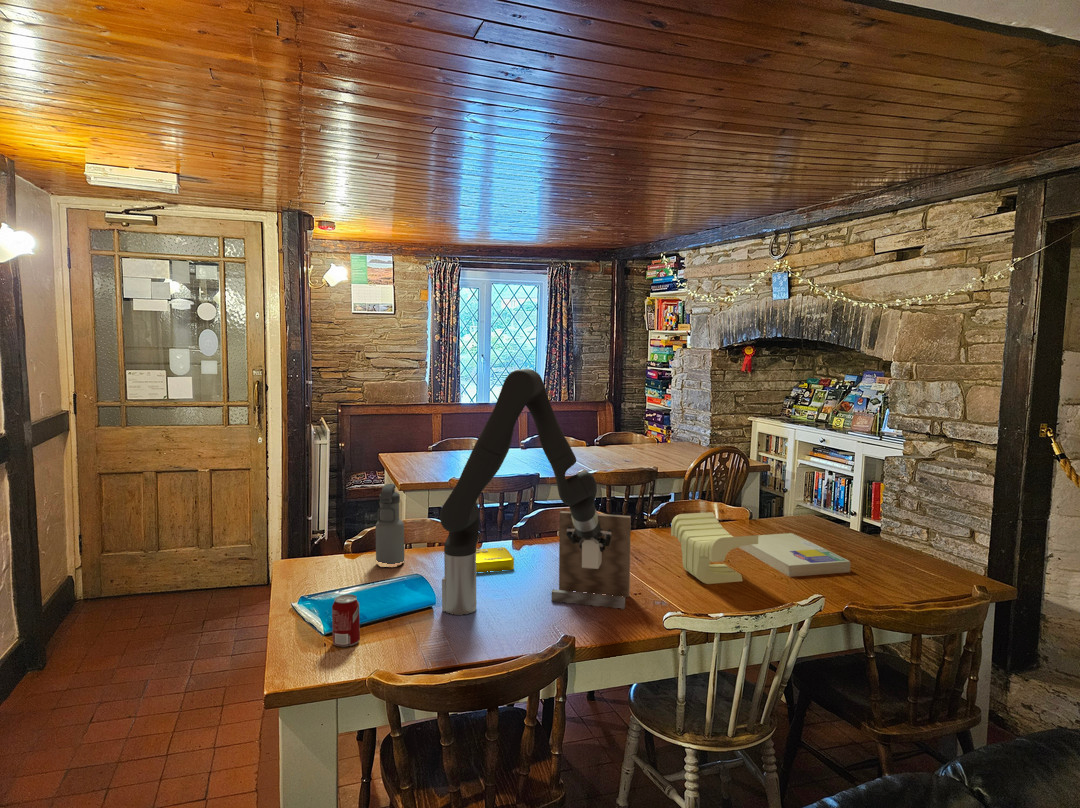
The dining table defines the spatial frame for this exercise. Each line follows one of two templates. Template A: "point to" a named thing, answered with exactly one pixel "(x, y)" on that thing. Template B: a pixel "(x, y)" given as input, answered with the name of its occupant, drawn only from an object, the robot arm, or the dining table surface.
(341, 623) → the soda can
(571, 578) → the wall board
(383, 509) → the water bottle
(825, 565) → the puzzle box
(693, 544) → the slatted curved stool
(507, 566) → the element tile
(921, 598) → the dining table surface
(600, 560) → the beige rectangular block
